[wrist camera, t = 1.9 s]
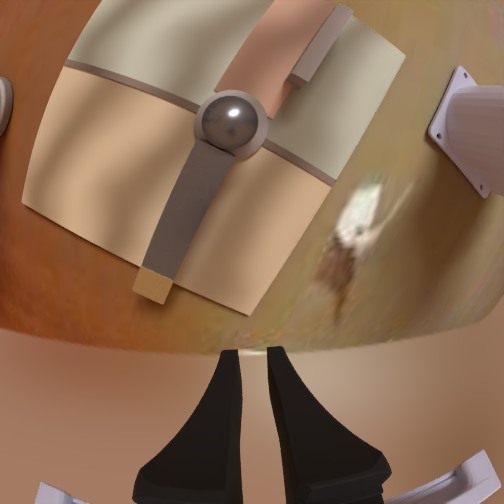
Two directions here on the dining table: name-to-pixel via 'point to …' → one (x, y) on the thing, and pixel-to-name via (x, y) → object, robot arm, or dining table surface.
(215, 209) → the door board
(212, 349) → the dining table surface
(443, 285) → the dining table surface
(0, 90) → the travel mug
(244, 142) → the bar
